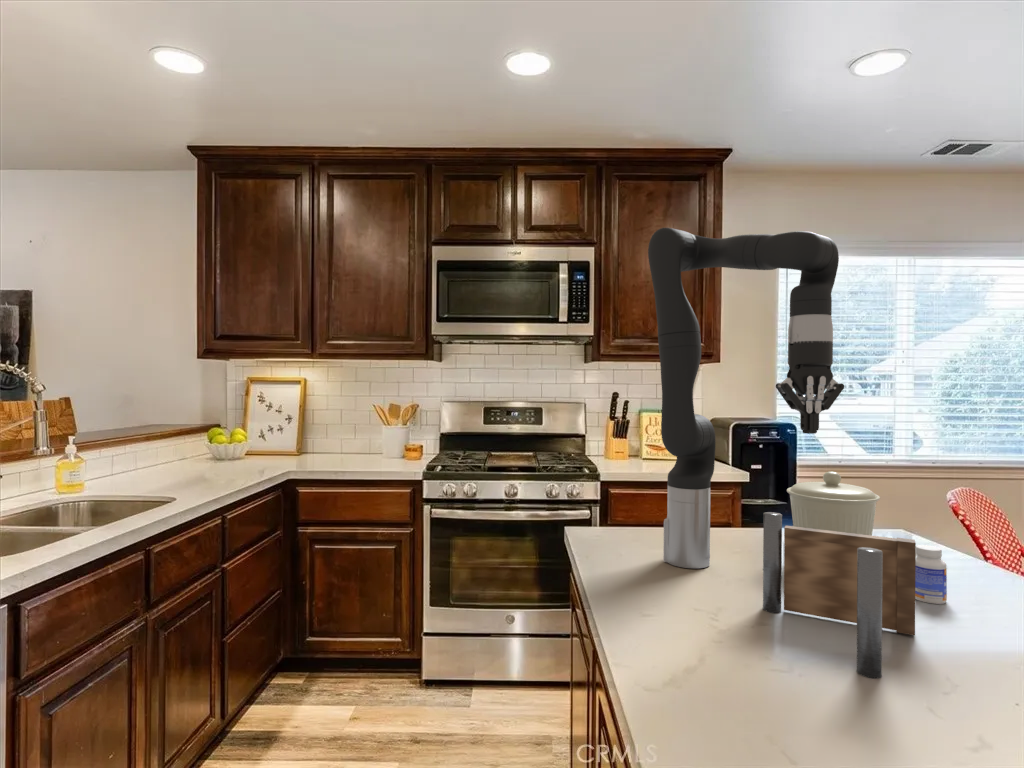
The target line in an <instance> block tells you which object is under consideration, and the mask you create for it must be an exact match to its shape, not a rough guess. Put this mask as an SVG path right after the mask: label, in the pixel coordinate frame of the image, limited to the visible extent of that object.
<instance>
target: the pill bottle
mask: <svg viewBox="0 0 1024 768" xmlns="http://www.w3.org/2000/svg"><path fill="white" fill-rule="evenodd" d="M916 554H917V556H916V565H915V600H917V601H919V602H922V603H923V602H924V603H926V604H927V603H928V604H933V605H942V604H943V605H944V604H946V603H947V601H948V600H947V599H948V596H947V595H948V593H947V592H948V590H947V589H948V588H947V584H948V583H947V582H948V579H947V577H948V576H947V574H948V573H947V569H948V568H947V562H946V561H944V560H943V559H942V556H943V554H942V548H940V547H938V546H934V545H926V544H919V545H917V544H916ZM940 557H941V559H940Z"/></svg>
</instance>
